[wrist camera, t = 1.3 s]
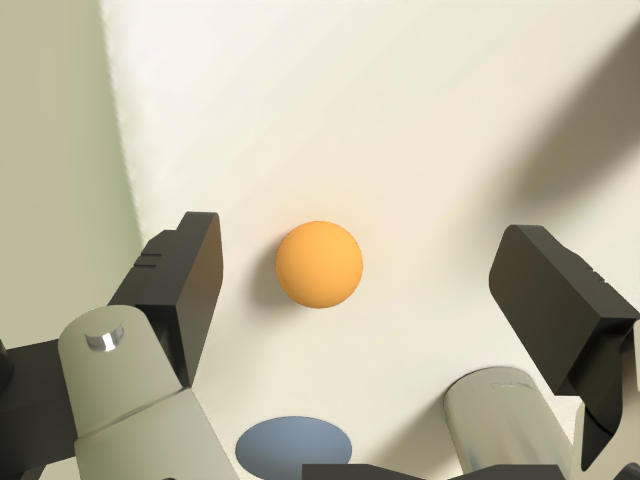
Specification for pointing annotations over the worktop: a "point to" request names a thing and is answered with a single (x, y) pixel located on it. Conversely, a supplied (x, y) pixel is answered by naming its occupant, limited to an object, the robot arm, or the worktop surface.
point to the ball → (319, 264)
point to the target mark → (291, 447)
